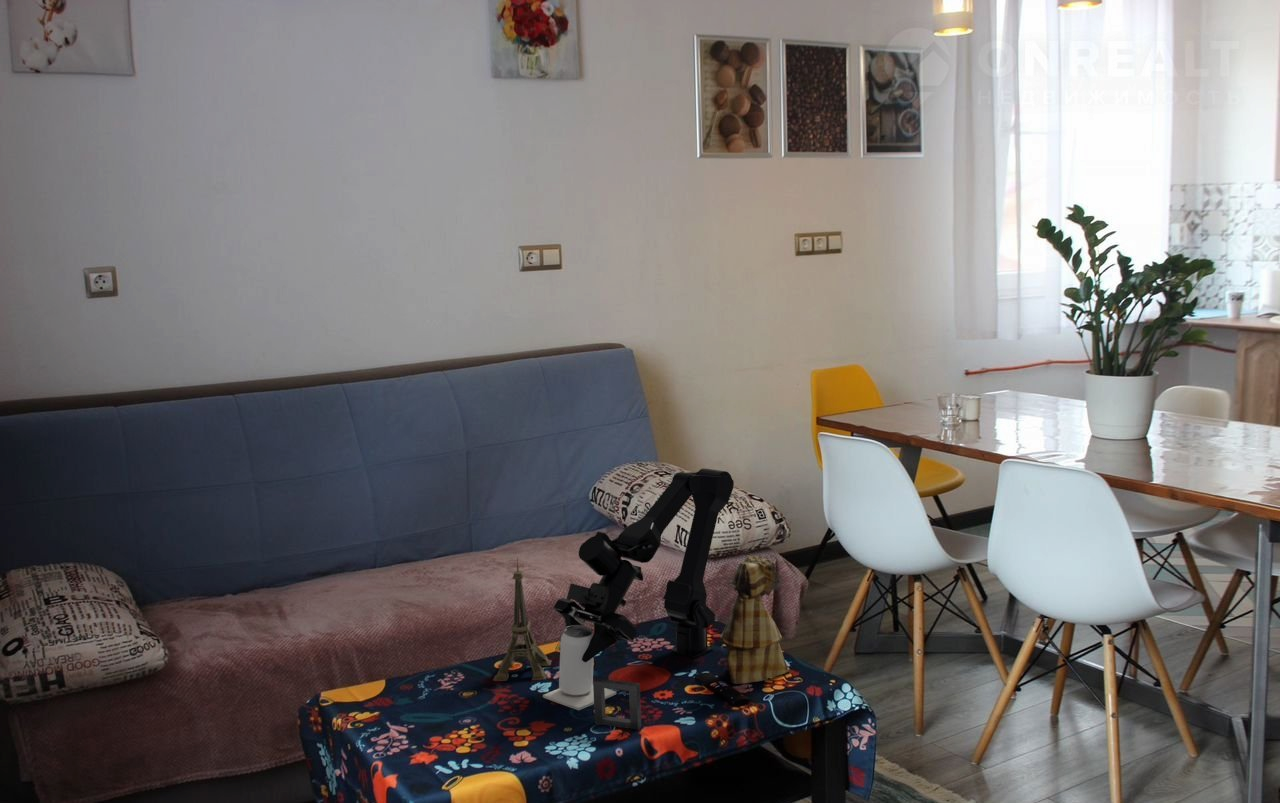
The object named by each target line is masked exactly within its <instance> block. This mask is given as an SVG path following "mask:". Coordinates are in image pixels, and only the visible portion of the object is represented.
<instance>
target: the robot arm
mask: <svg viewBox="0 0 1280 803" xmlns="http://www.w3.org/2000/svg"><path fill="white" fill-rule="evenodd" d="M734 483H735V482H734V480H733V477H732V475H731V474H730V472H728V471H725V470H724V471H723V470H719V469H711V468H704V467H703V468H700V469H699V470H698V471H696V472H684V471H679V472H676V473H675V474H674V475H673V476H672V480H671V482H670V483H669V485H667V486H666V488H665V490H664V491H663V492H662V493H661V495H660V496H659V497H658V499H656V500H655V502H654V503H653V505H652V506H651V507H650V508H649V509H648V511H647V512H646V513H645V514H644V515H643V517H641V519H639V520H636V522H633V523H630V524H629V525H628V526H627V527H626V528H624V530H623V531H622V532H620V534H619V535H618V536H617V537H616V538H612V539H610V537H609V535H608V534H606V532H602V531H597V532H596V534H595V535H594V536H591V537H589V538H588V539H586V540H585V541H584V542H583V543H581V545H580V546H579V549H578V558H579V559H580V560H581V561H582V562H583V563H584V564H586V565H587V567H589V568H590V570H591V571H593V572H594V573H595V574H596V575H598V576H600V577H601V578H600V580H599V582H597V583H596V582H593V583H592V584H591V585H590V586H589V587H585V586H584V585H578V584H575V583H572V582H570V585H569V588H568V591H567V595H566V598H564V597H562V598H558V599H557V601H556V602H555V604H554V606H553V608H552V609H553V610H555V612H557V613H558V614H559V615H560V616H561V617H562V618H563V619H564V622H565V628H566V627H568V626H572V625H583V626H584V624H585V623H586V622H589V623H592V624H593V625H594V628H593V637H592V639H591V641H590V643H589V646H588V648H587V650H586V651H585V653H584V655H583V657H582V661H584V662H587V661H589V660H590V659H592V658H593V657H594V658H595V656H597V655H599V654H600V653H602V652H603V651H604V650H605V649H608V648H609V647H611V646H613V645H614V644H616V643H620V642H621V641H622V640H621V639H623V640H624V641H628V642H631V643H632V642H633V641H634V640H635V638H636V636H637V633H638V632H637V631H638V629H637V628H638V627H637V626H636V625H635V624H634V623H633V622H632V621H630V619H629V618H627V617H626V616H625V615H624V614H621V613H616V612H617V611H618V609H619V607H620V606H622V607H625V606H626V604H627V601H626V600H625V599H624V598H625V596H626V594H627V593H628V591H629V589H630V587H631V586H632V584H633V582H634V580H637V581H639V582H643V581H644V575H643V571H642V566H639V565H634V564H632V562H631V561H633V562H637V563H641V564H642V563H643V564H648V563H649V562H651V560H652V559H653V558H654V556H655V554H656V552H657V551H658V549H659V548H660V547H661V543H662V542H661V541H662V534H663V532H664V531H665V530H666V529H667V528H668V526H669V525H670V523H671V522H672V521H673V519H674V518H675V517H676V516H677V514H678V513H679V512H680V511H681V510H682V508H683V506H684V505H686V503H687V501H688V500H689V499H690V498H691V497H692V500H693V501H692V502H693V504H694V513H693V518H692V522H691V526H690V531H689V533H688V538H687V543H686V546H685V552H684V555H683V560H682V564H681V569H680V572H679V575H677V577H676V578H675V579H674V580H670V579H669V580H668V581H667V583H666V588H665V592H664V596H663V597H662V599H663V600H664V603H663V608H664V609H665V612H666V614H667V616H668V619H669V622H671V623H677V624H676V633H675V642H676V644H675V645H676V646H675V647H673V648H672V649H671V652H672V653H675V654H680V655H682V656H686V657H690V658H697V657H700V656H702V655H705V654H707V653H709V652H711V651H714V646H713V647H712V646H709V644H708V629H709V628H710V627H711V626H713V625H715V618H716V614H715V613H714V611H713V610H711V608H709V606H708V605H707V590H706V587H705V584H704V576H705V571H706V568H707V562H708V559H709V556H710V555H709V554H710V550H711V546H712V541H713V537H714V533H715V528H716V525H717V522H718V516H719V513H720V512H721V511H722V510H723V509H724V508H725V507H726V506H727V504H728V503H729V502H730V499H731V495H732V492H733V490H734V485H735V484H734ZM620 637H621V638H620Z"/></svg>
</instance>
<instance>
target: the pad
mask: <svg viewBox="0 0 1280 803" xmlns="http://www.w3.org/2000/svg"><path fill="white" fill-rule="evenodd" d="M604 691H605V700H607V699H608V698H612V697H613V696H615V695H617V691H615V690H614V689H610V688H604ZM542 698H543V699H545V700H549V701H552V702H554V703H557V704H560V705H563V706H565V707H568V708H571V709H574V710H576V711H580V710H583V709H585V708H587V707H590V706H594V693H593V683H592V689H591V691H590V692H589V693H587V694H585V695H580V696H572V695H567V694H565V693H563V692H562V691H561V690H560V688H559V687H558V688H557V689H554V690H552V691H549V692H547V693H544V694H543V695H542Z"/></svg>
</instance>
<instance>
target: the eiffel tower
mask: <svg viewBox="0 0 1280 803" xmlns="http://www.w3.org/2000/svg"><path fill="white" fill-rule="evenodd" d="M523 572H524V571H523V570H520V569H519V560H518V558H516V571H514V572H513V573H512V574H513V576H512V578H511V579H513V580H514V599H513V600H514V604H513V605H514V606H513V623H512V625H511V626H510V631H511V632H512V635H511V640H510V643H509V645H508V647H507V648H506V650H507V652H506V654H505V656H504V657H503V660H501V661H500V664H499V669H498V671H497V673H496V674H495V675H494V678H493V679H492V681H493V682H505V681H506V682H507V681H508V679H509V676H510V673H509V671H510V668H511V667H512V668H513V666H514V665H515V660H516V659H519V658H520V659H521V658H522V659H526V660H527V661H528V662H529V664H530V667H531V671H532V676H531V680H532V681H546V680H547V677H548V673H546V671H544V668H542V667H551V665H552V661H553V660H550V659H549V658H548V657H547V655H546V654H545V653H544V651H543V650H542V649H541V648H540V647H539V646H538V645H537V644H536V643H537V639H535V638H534V637H533V634H532V632H531V629H530V628H531V625H532V623H531V620H529V619H528V615H527V608H526V599H525V593H524V587H523V578H524V576H525V574H524V573H523ZM521 635H522V636H523V639H524V640H519V641H518V637H519V636H521Z"/></svg>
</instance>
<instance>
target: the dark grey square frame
mask: <svg viewBox="0 0 1280 803" xmlns="http://www.w3.org/2000/svg"><path fill="white" fill-rule="evenodd" d="M592 684H593V693H594V704H593V712H594V724H595V725H602V726H609V727H616V728H617V727H618V728H624V729H625V728H626V729H632V730H639V729H640V728H642V708H641V707H642V706H641V705H642V704H641V703H642V702H641V683H639V682H632V681H631V682H629V681H622V680H615V679H605V678H599V677H597V678H595V679H593V683H592ZM604 688H607V689H610V690H619V691H626V692H628V698H629V700H628V701H629V719H628V718H623V717H617V716H616V717H614V716H607V715H606V699H605V691H604Z"/></svg>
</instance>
